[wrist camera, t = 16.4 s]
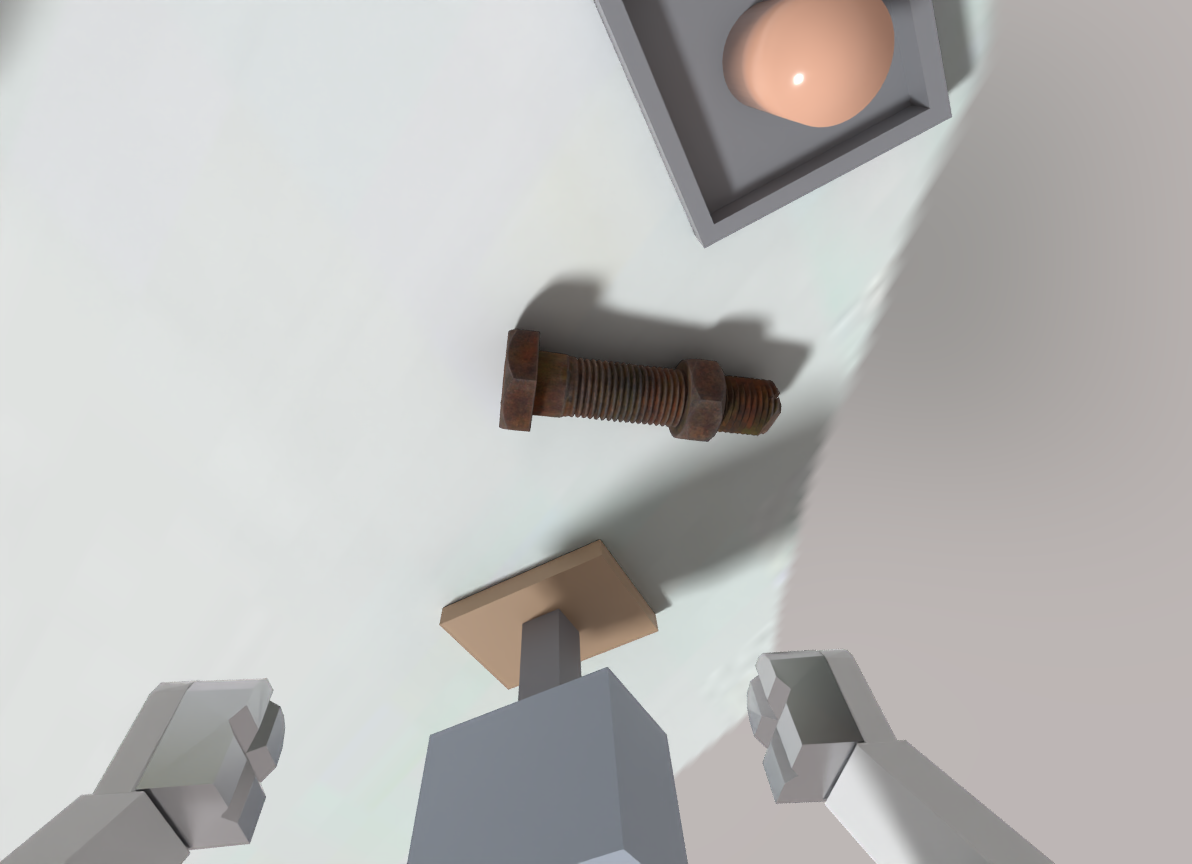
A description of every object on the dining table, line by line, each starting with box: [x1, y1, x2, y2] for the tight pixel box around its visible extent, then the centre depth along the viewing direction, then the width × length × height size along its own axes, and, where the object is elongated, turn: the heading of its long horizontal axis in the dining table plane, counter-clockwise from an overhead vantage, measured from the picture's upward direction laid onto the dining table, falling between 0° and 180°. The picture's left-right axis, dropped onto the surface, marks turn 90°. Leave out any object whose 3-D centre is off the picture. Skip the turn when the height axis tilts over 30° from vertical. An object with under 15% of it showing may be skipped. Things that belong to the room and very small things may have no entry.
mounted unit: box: [407, 540, 688, 864], centre depth 37 cm, size 10×13×18 cm
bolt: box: [499, 329, 782, 442], centre depth 33 cm, size 6×5×15 cm
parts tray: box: [594, 0, 952, 248], centre depth 25 cm, size 12×12×2 cm
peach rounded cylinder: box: [722, 0, 894, 127], centre depth 23 cm, size 4×4×7 cm
